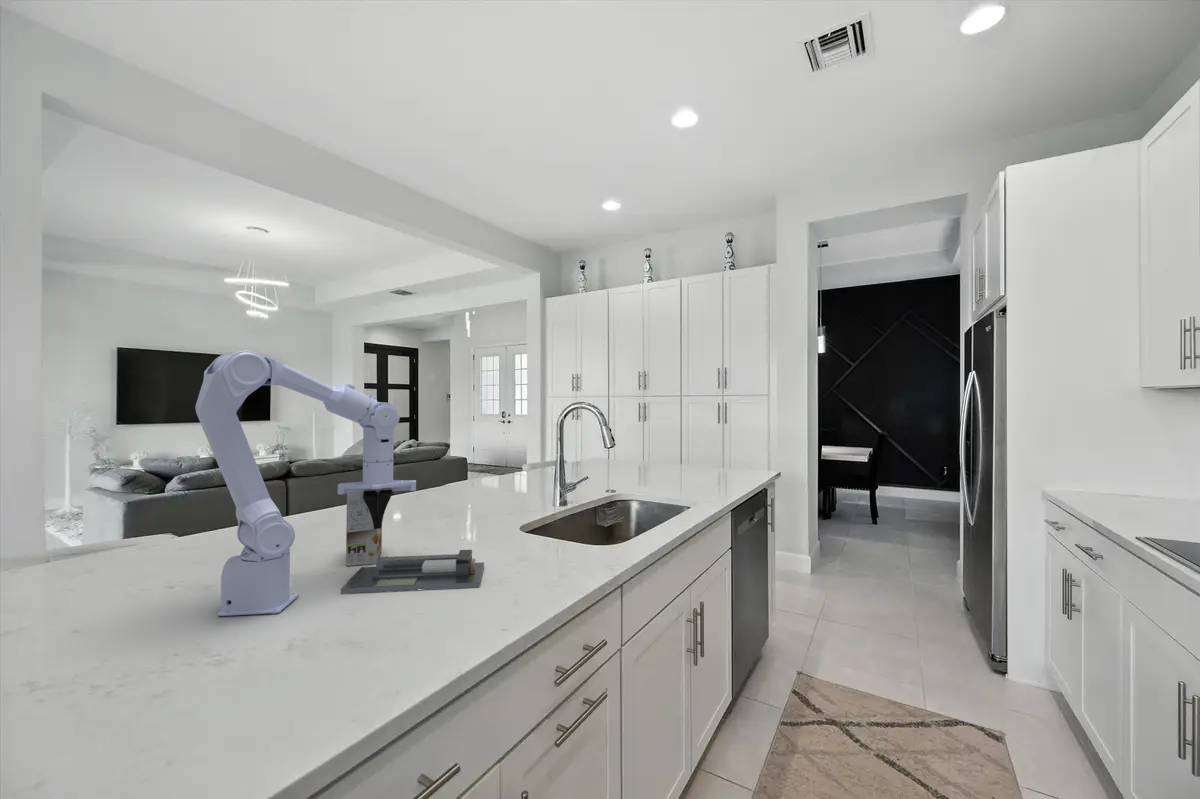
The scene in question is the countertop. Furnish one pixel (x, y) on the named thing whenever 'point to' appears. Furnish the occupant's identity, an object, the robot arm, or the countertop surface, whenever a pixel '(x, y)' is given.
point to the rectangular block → (444, 566)
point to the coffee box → (361, 533)
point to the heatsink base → (413, 574)
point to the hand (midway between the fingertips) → (377, 527)
